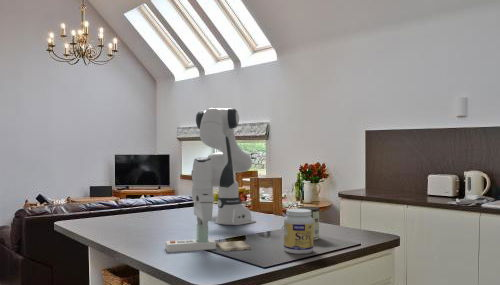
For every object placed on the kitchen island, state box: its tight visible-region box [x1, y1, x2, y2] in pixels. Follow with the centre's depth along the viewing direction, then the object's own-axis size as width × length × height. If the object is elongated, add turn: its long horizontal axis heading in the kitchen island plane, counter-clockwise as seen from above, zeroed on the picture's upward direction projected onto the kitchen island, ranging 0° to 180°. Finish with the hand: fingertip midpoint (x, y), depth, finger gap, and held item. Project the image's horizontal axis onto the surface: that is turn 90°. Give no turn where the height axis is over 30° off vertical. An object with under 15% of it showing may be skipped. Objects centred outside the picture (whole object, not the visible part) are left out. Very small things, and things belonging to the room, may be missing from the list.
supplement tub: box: [283, 208, 314, 255], centre depth 190 cm, size 12×12×17 cm
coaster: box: [216, 240, 252, 252], centre depth 196 cm, size 12×12×1 cm
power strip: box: [164, 238, 217, 253], centre depth 193 cm, size 20×7×4 cm, turn 108°
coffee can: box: [296, 206, 320, 241], centre depth 217 cm, size 10×10×14 cm
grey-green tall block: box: [196, 220, 209, 242], centre depth 194 cm, size 4×4×12 cm
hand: (202, 228), depth 194 cm, fingers open, 8 cm apart
